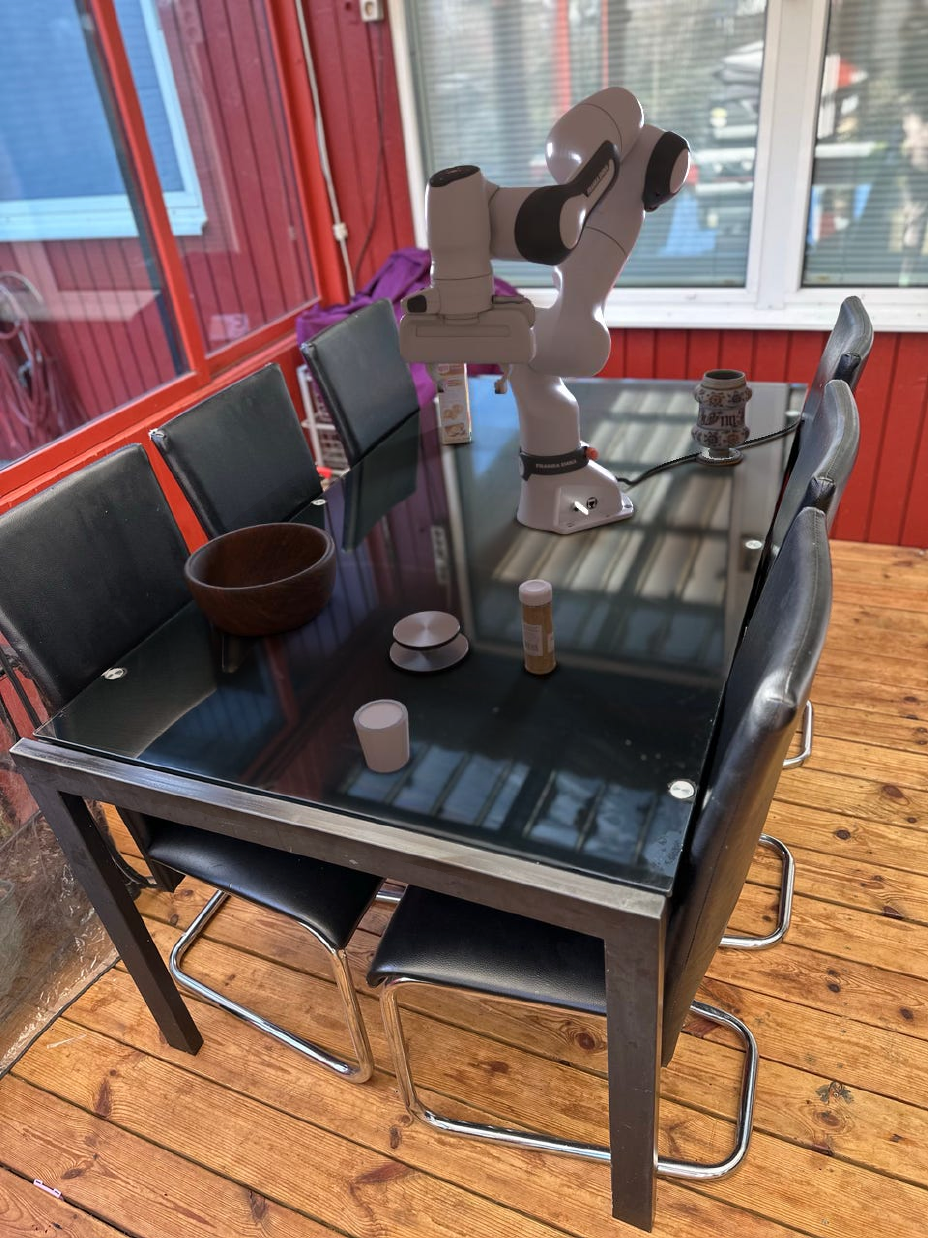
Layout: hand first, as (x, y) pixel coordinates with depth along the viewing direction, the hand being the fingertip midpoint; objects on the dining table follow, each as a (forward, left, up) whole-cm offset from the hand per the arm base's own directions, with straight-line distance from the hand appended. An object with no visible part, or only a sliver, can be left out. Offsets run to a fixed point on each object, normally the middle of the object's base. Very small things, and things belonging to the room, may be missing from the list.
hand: (471, 392), depth 132 cm
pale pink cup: (+22, +39, -34) cm, 56 cm away
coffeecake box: (-9, -81, -34) cm, 88 cm away
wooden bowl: (+37, -8, -34) cm, 51 cm away
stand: (+13, +15, -34) cm, 40 cm away
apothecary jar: (-59, -40, -34) cm, 80 cm away
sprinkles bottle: (-2, +25, -34) cm, 42 cm away
